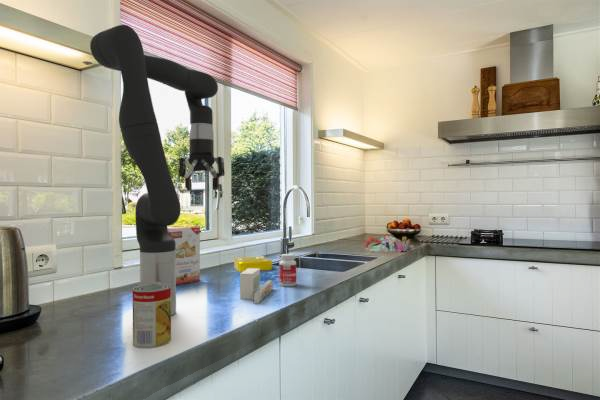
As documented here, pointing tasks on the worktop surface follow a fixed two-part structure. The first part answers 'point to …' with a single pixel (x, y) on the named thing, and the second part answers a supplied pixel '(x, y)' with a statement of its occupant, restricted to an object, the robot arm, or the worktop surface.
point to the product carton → (249, 283)
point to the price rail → (263, 291)
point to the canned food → (151, 315)
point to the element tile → (252, 263)
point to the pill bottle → (287, 270)
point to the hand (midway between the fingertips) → (201, 190)
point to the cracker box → (186, 253)
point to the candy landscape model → (387, 244)
